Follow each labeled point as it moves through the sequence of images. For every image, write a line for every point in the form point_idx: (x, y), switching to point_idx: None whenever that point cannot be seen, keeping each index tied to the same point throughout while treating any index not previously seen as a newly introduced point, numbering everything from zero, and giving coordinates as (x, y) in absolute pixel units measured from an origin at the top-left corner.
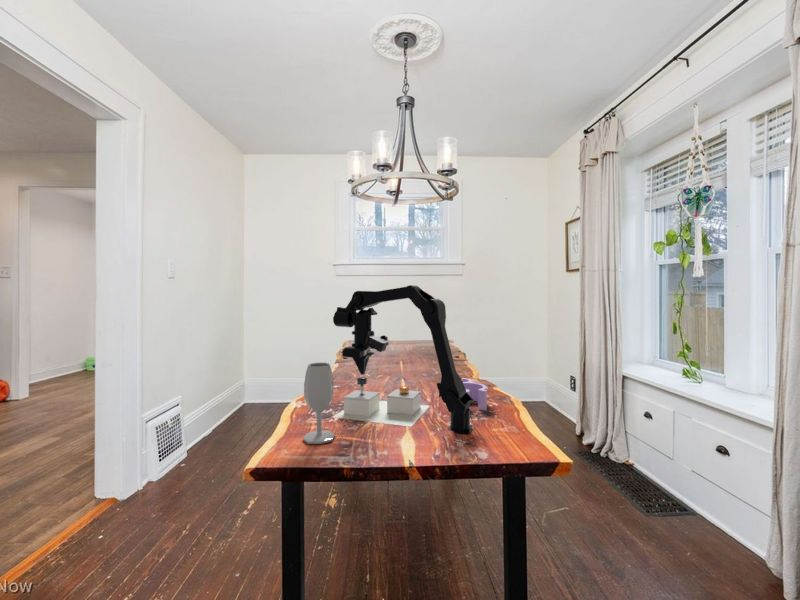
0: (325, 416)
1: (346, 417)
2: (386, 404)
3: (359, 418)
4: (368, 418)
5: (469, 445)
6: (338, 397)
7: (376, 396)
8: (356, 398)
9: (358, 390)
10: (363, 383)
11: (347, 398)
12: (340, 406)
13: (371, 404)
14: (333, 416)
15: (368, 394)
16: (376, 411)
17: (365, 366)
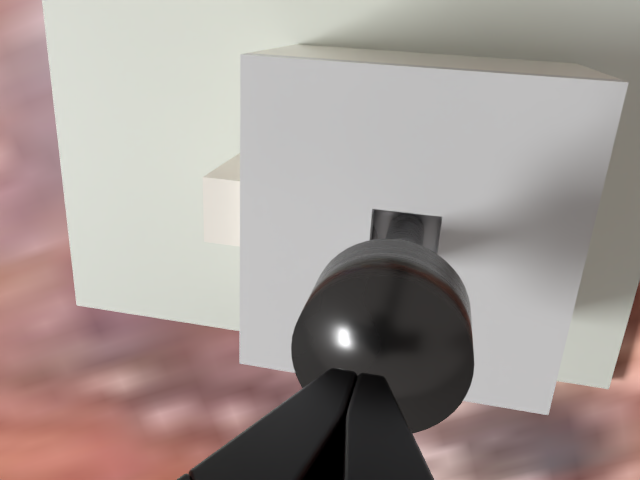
0: (550, 439)
1: (608, 271)
2: (138, 23)
3: (624, 145)
4: (613, 54)
5: None
6: (92, 468)
7: (350, 59)
8: (582, 262)
9: (240, 333)
10: (453, 278)
11: (557, 366)
12: (284, 401)
13: (517, 67)
14: (594, 380)
15: (377, 168)
16: (375, 49)
17: (310, 463)
